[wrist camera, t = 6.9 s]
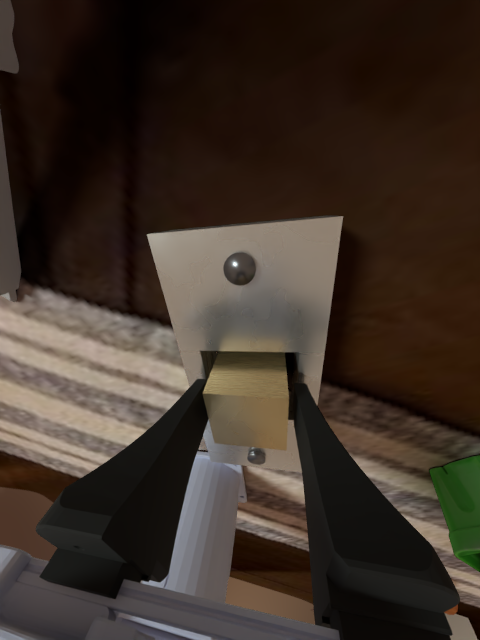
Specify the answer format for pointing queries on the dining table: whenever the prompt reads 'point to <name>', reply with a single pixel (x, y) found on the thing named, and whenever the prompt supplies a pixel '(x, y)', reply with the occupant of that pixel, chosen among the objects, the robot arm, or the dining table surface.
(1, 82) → the dining table surface
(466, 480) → the fruit basket
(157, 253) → the white slotted plate
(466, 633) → the milk
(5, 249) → the caliper
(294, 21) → the dining table surface
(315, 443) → the robot arm
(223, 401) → the block
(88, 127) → the dining table surface
